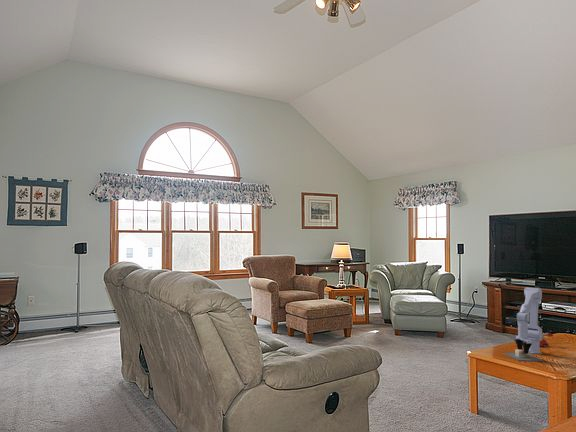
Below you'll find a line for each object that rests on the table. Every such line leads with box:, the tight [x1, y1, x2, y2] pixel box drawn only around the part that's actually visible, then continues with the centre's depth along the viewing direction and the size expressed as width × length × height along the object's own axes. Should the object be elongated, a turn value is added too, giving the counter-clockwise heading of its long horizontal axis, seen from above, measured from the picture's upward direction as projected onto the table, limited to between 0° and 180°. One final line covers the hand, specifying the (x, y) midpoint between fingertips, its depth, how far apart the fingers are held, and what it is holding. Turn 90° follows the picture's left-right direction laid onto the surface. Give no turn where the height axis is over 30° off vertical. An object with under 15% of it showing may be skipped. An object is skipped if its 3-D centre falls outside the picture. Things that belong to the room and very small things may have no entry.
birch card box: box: [514, 348, 532, 358], centre depth 294 cm, size 8×4×4 cm, turn 90°
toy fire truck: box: [539, 332, 554, 348], centre depth 329 cm, size 3×14×10 cm, turn 101°
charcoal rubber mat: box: [504, 352, 544, 362], centre depth 294 cm, size 18×16×1 cm
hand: (523, 352), depth 294 cm, fingers open, 7 cm apart
